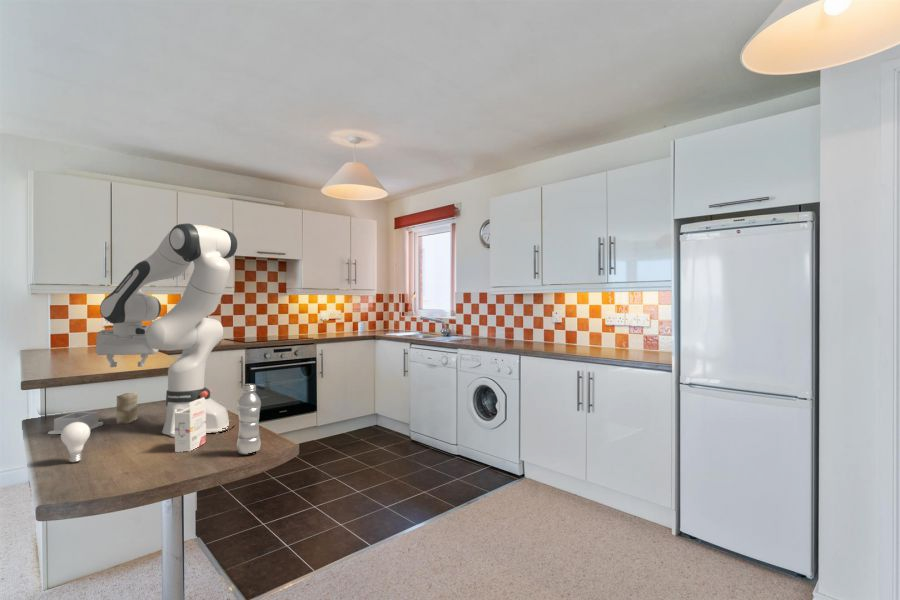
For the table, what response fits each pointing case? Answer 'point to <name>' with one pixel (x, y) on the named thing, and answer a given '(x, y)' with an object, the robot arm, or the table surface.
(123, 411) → the birch peg block
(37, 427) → the table surface
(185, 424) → the ink cartridge box
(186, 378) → the robot arm
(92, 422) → the cartridge dock
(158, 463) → the table surface
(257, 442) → the plastic bottle
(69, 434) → the lightbulb
